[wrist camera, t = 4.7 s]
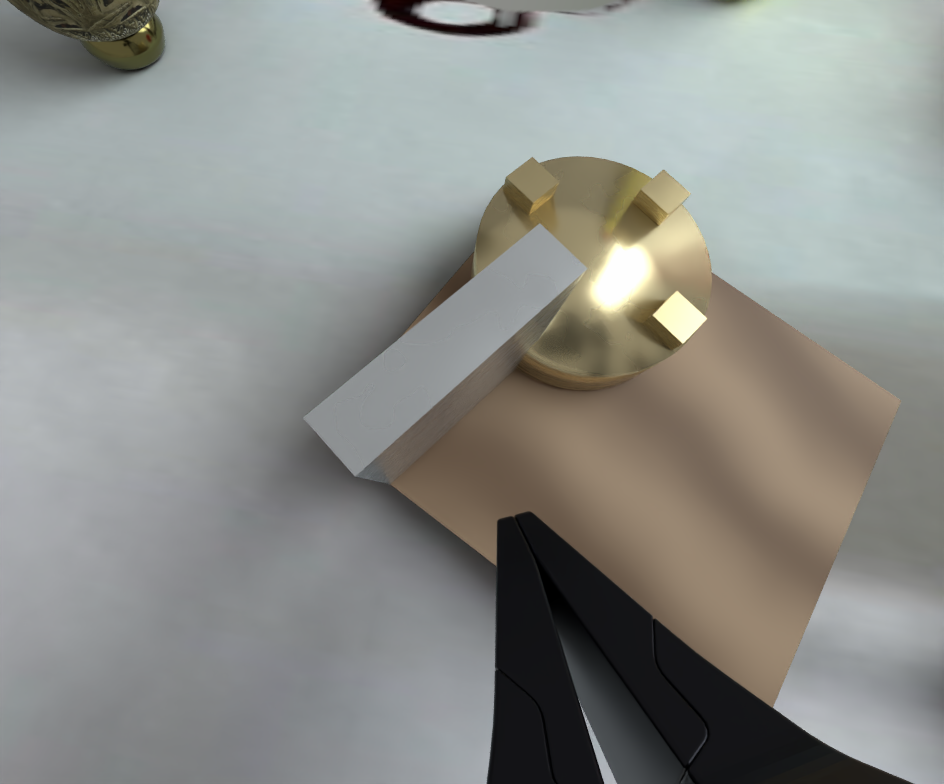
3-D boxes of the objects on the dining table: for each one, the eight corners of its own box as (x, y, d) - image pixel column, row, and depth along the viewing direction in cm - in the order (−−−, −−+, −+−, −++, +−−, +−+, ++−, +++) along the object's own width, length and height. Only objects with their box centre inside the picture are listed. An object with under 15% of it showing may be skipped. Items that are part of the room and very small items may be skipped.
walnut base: (719, 736, 15) (750, 761, 14) (329, 435, 17) (320, 430, 15) (866, 407, 19) (901, 400, 18) (541, 186, 21) (550, 163, 19)
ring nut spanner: (569, 165, 19) (645, -18, 12) (714, 298, 18) (885, 180, 11) (297, 380, 15) (190, 290, 9) (460, 562, 14) (485, 623, 8)
